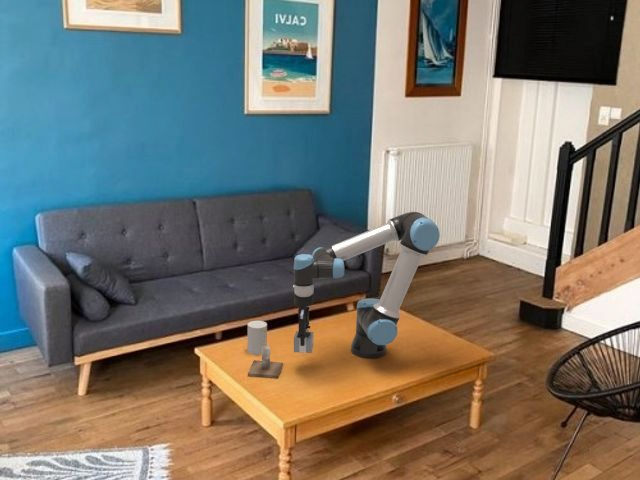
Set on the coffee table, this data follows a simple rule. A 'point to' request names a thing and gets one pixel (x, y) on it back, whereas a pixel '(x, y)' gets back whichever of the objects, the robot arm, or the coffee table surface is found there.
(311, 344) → the collar
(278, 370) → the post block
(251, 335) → the gold-veined taupe cylinder
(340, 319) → the coffee table surface
